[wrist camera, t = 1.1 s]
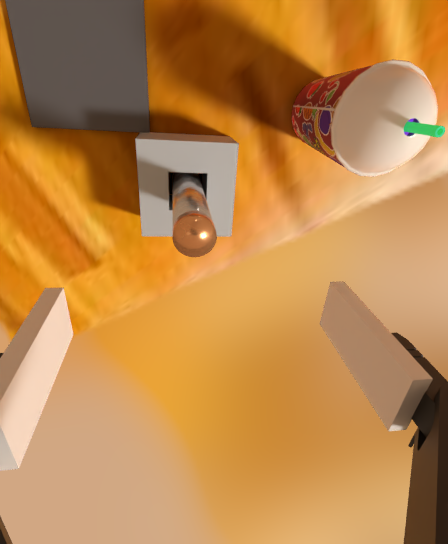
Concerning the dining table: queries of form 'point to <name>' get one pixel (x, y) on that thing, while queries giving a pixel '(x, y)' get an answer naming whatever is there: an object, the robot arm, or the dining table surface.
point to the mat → (83, 63)
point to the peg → (191, 216)
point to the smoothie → (368, 116)
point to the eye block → (186, 159)
